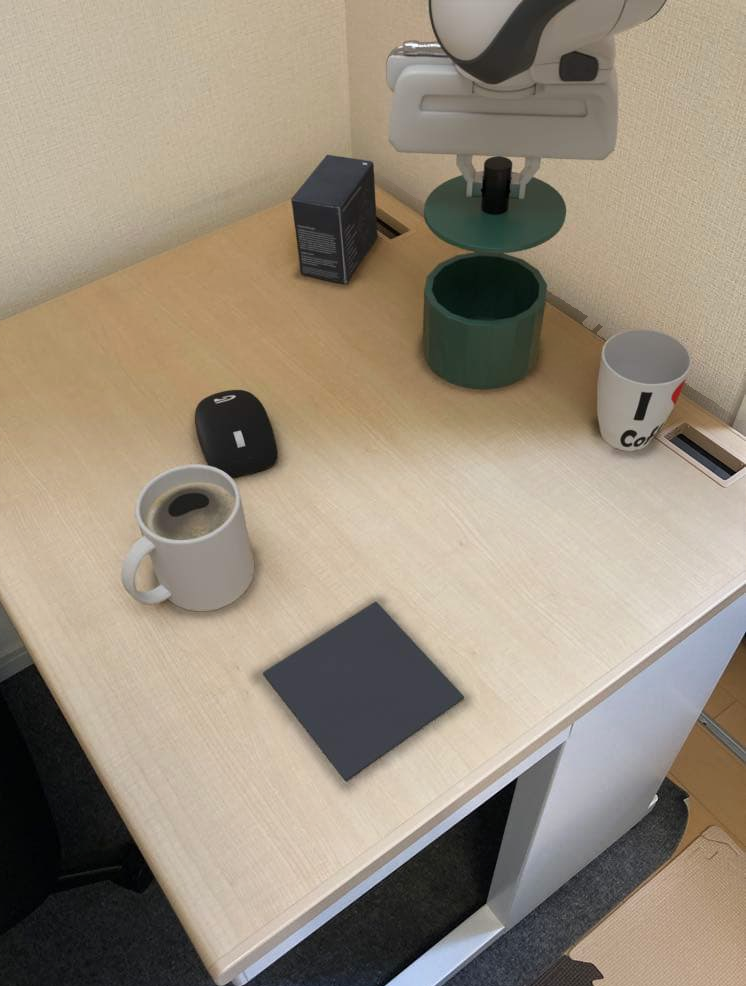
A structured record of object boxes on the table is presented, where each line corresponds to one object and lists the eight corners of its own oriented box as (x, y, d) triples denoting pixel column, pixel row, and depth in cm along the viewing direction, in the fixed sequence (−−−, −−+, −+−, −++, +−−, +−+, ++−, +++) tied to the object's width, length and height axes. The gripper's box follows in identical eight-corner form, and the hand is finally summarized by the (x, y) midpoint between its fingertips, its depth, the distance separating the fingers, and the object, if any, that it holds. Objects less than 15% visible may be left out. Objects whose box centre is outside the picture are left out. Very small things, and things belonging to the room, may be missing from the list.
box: (331, 229, 118) (326, 152, 110) (378, 238, 116) (377, 161, 108) (297, 275, 112) (289, 197, 104) (346, 286, 110) (342, 207, 102)
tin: (539, 319, 105) (549, 255, 98) (534, 393, 97) (544, 329, 90) (430, 311, 106) (432, 248, 100) (416, 383, 99) (417, 320, 92)
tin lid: (567, 184, 92) (575, 129, 87) (562, 263, 84) (571, 207, 79) (432, 178, 94) (434, 124, 90) (415, 255, 86) (415, 199, 81)
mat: (376, 603, 81) (376, 600, 81) (464, 698, 75) (464, 696, 74) (263, 674, 77) (262, 672, 77) (346, 782, 71) (345, 779, 70)
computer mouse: (254, 392, 99) (250, 364, 96) (285, 467, 92) (281, 439, 89) (187, 410, 98) (180, 381, 95) (213, 487, 91) (206, 459, 88)
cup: (615, 472, 89) (636, 396, 82) (569, 420, 94) (585, 344, 86) (683, 445, 91) (710, 368, 83) (635, 396, 96) (656, 319, 88)
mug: (251, 530, 87) (237, 457, 79) (258, 611, 81) (243, 541, 73) (138, 544, 87) (112, 472, 79) (136, 627, 81) (108, 558, 73)
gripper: (379, 56, 76) (383, 207, 87) (633, 62, 73) (604, 218, 83) (391, 24, 80) (393, 172, 90) (632, 28, 76) (604, 182, 87)
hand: (496, 195), depth 87 cm, fingers closed on tin lid, 2 cm apart
